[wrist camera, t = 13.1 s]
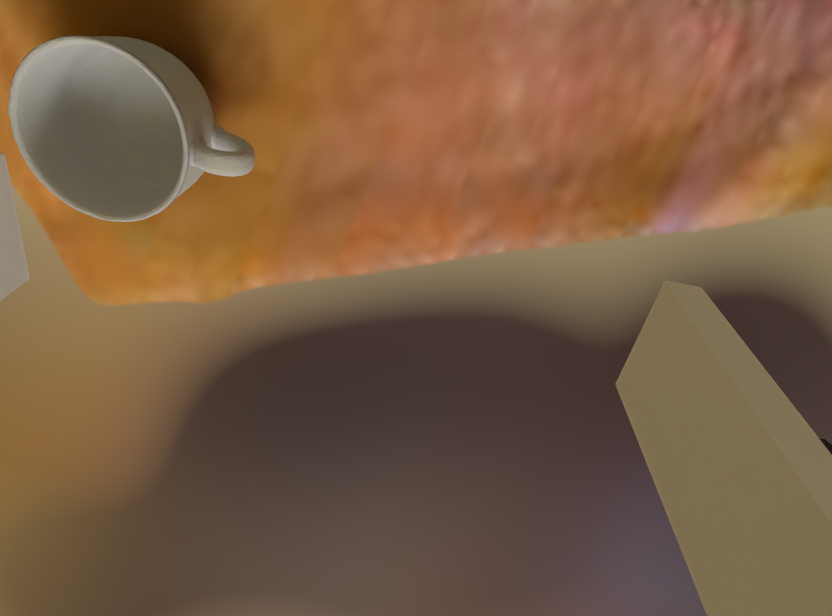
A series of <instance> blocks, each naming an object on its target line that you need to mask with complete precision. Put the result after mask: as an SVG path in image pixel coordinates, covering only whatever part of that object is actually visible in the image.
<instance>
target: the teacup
mask: <svg viewBox="0 0 832 616" xmlns="http://www.w3.org/2000/svg"><path fill="white" fill-rule="evenodd" d="M8 114H9V116H10V124H11V128H12V132H13V136H14V139H15V141H16V143H17V146H18V148H19V150H20V153H21V155H22V157H23V158H24V160H25V162H26V163H27V165H28V166H29V168H30V169H31V171H32V172H33V173H34V174H35V176H36V177H37V178H38V179H39V180H40V181H41V182H42V184H43V185H44V186H45V187H46V188H47V189H49V190H50V191H51V192H52V193H53V194H54V195H55V196H56V197H58V198H59V199H61V200H62V201H63V202H65V203H66V204H67V205H69V206H71V207H73V208H74V209H76V210H78V211H80V212H82V213H84V214H87V215H90V216H92V217H95V218H98V219H101V220H108V221H112V222H113V221H118V222H129V221H132V222H133V221H139V220H143V219H146V218H149V217H151V216H153V215H155V214H157V213H159V212H161V211H162V210H164V209H165V208H166V207H167V206H169V205H170V204H171V203H172V202H173V201H174V200H175V198H177V197H178V196H179V195H181V194H182V193H183V192H184V191H186V190H187V189H188V188H189V187H190V186H191V185H193V184H194V183H195V182H196V181H197V180H198V178H199V177H200V176H201V175H202V174H203V172H204V171H206V172H208V173H212V174H216V175H221V176H240V175H244V174H247V173H249V172H250V171H251V170H252V168H253V166H254V158H255V155H254V149H253V147H252V146H251V145H250V144H249V143H248V142H247V141H245V140H244V139H242V138H240V137H238V136H236V135H233V134H231V133H229V132H226V131H225V130H224V129H223V128H221V127H219V126H216V125H215V118H214V114H213V110H212V107H211V104H210V101H209V98H208V96H207V94H206V92H205V90H204V88H203V86H202V85H201V83H200V82H199V81H198V79H197V78H196V77H195V75H194V74H193V73H192V72H191V71H190V69H189V68H188V67H187V66H186V65H185V64H184V63H183V62H181V61H180V60H179V59H178V58H176V57H175V56H174V55H172V54H171V53H169V52H168V51H166V50H164V49H162V48H161V47H159V46H156V45H154V44H152V43H149V42H146V41H143V40H140V39H135V38H129V37H120V36H95V37H92V36H76V35H70V36H63V37H58V38H54V39H51V40H48V41H46V42H44V43H42V44H40V45H39V46H37V47H36V48H34V49H33V50H31V51H30V52H29V53H28V54H27V55H26V56H25V57H24V58H23V60H22V61H21V63H20V65H19V66H18V68H17V70H16V72H15V74H14V77H13V81H12V84H11V87H10V93H9V104H8Z"/></svg>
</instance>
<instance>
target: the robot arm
mask: <svg viewBox="0 0 832 616" xmlns="http://www.w3.org/2000/svg"><path fill="white" fill-rule="evenodd" d="M28 279H29V272H28V268H27V262H26V257H25V252H24V247H23V242H22V237H21V232H20V227H19V223H18V217H17V212H16V207H15V202H14V197H13V192H12V187H11V182H10V177H9V172H8V167H7V162H6V157H5V154H3V153H0V301H1V300H2V299H3V298H5V297H6V296H7V295H9V294H10V293H11V292H13V291H14V290H15V289H17V288H18V287H19V286H21V285H22V284H23V283H25V282H26V281H27V280H28ZM616 387H617V389H618V392H619V394H620V397H621V400H622V402H623V405H624V407H625V410H626V412H627V415H628V417H629V420H630V422H631V425H632V427H633V430H634V432H635V435H636V437H637V440H638V442H639V445H640V447H641V450H642V452H643V455H644V458H645V460H646V462H647V465H648V467H649V470H650V473H651V475H652V478H653V480H654V483H655V485H656V488H657V490H658V493H659V495H660V498H661V500H662V503H663V505H664V508H665V510H666V513H667V515H668V518H669V520H670V523H671V525H672V528H673V531H674V533H675V535H676V538H677V541H678V543H679V546H680V548H681V551H682V553H683V556H684V558H685V561H686V563H687V566H688V568H689V571H690V573H691V576H692V578H693V581H694V584H695V586H696V589H697V591H698V594H699V596H700V599H701V601H702V604H703V606H704V608H705V611H706V614H707V616H832V445H831V444H830V443H828V442H827V441H826V440H825V439H819V438H818V437H817V435H816V434H815V433H814V431H813V430H812V429H811V428H810V426H809V425H808V424H807V423H806V421H805V420H804V419H803V417H802V416H801V415H800V414H799V412H798V411H797V410H796V409H795V407H794V406H793V405H792V403H791V402H790V401H789V400H788V398H787V397H786V396H785V394H784V393H783V392H782V391H781V389H780V388H779V387H778V385H777V384H776V383H775V382H774V380H773V379H772V378H771V376H770V375H769V374H768V373H767V371H766V370H765V369H764V367H763V366H762V365H761V364H760V362H759V361H758V360H757V358H756V357H755V356H754V355H753V353H752V352H751V351H750V349H749V348H748V347H747V346H746V344H745V343H744V342H743V340H742V339H741V338H740V337H739V336H738V334H737V333H736V331H735V330H734V329H733V328H732V326H731V325H730V324H729V322H728V321H727V320H726V319H725V317H724V316H723V315H722V314H721V312H720V311H719V310H718V308H717V307H716V306H715V305H714V303H713V302H712V301H711V299H710V298H709V297H708V296H707V294H706V293H705V292H704V290H703V289H702V288H701V287H697V286H691V285H686V284H680V283H676V282H671V281H665V282H664V284H663V286H662V288H661V290H660V292H659V295H658V296H657V299H656V301H655V303H654V305H653V307H652V309H651V311H650V313H649V315H648V317H647V319H646V322H645V324H644V326H643V328H642V330H641V332H640V334H639V336H638V338H637V340H636V343H635V345H634V347H633V349H632V351H631V353H630V355H629V357H628V359H627V361H626V363H625V365H624V367H623V370H622V372H621V374H620V376H619V378H618V380H617V382H616Z"/></svg>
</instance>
